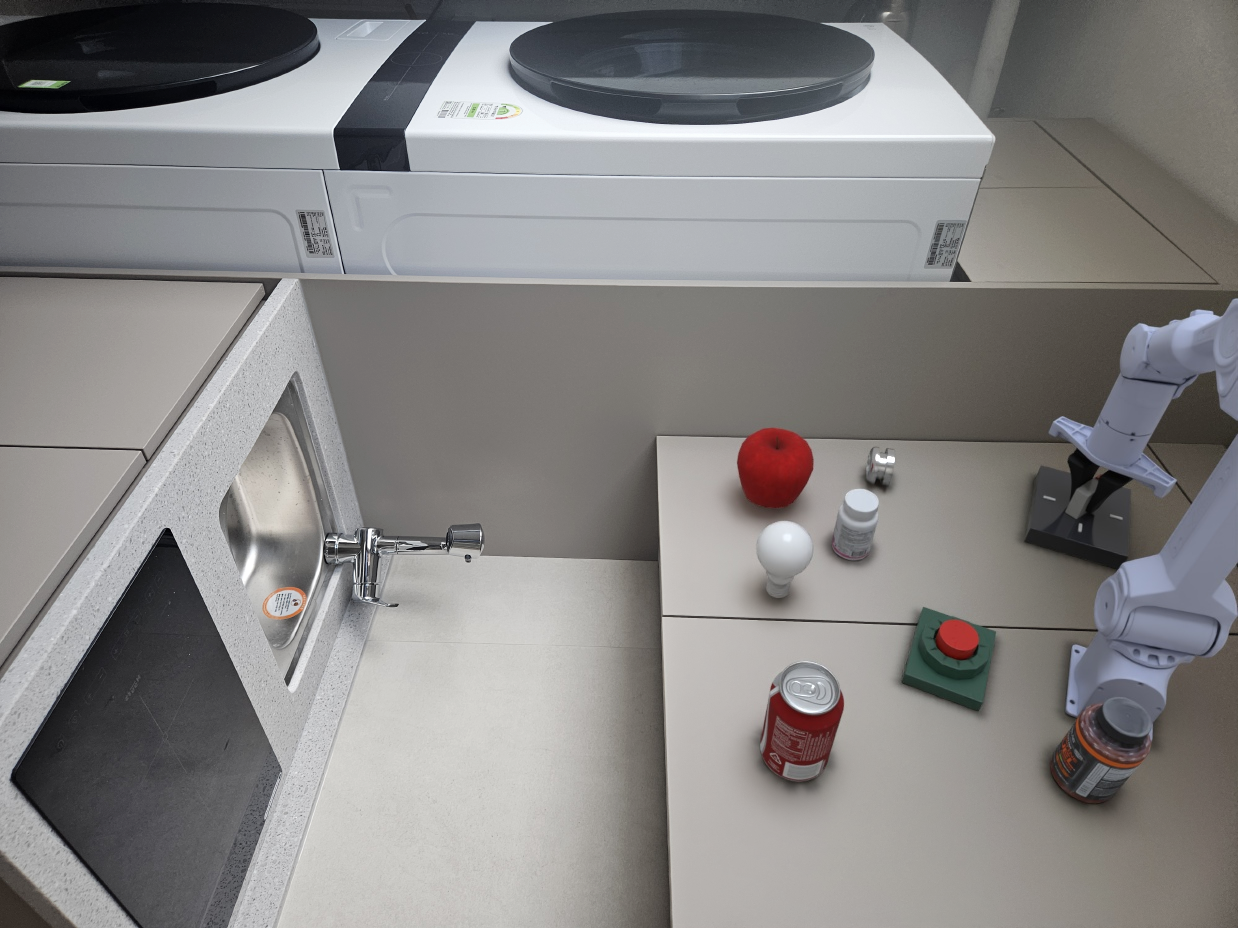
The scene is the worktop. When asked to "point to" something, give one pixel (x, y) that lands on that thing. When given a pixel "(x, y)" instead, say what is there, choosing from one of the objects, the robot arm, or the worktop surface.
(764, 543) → the lightbulb
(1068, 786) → the supplement bottle
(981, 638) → the button block
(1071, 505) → the knob
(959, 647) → the button
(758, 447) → the apple
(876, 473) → the grooved metal pulley
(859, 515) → the pill bottle
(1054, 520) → the block
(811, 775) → the soda can
